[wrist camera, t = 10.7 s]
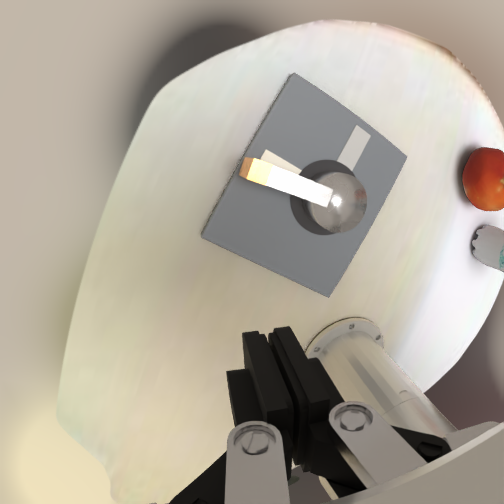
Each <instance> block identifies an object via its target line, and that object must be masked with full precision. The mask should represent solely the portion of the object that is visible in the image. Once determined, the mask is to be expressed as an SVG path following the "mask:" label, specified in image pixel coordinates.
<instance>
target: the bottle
mask: <svg viewBox="0 0 504 504" xmlns="http://www.w3.org/2000/svg"><path fill="white" fill-rule="evenodd" d="M476 234H477V235H478V238H477V239H476V240H473V241H472V244H473V246H474V247H475V248H474V249H473V254H474V256H475V257H476V258H477V259H478V260H479V261H480V262H481V263H483V264H485V265H487V266H490V267H492V268H495V269H498V270H500V271H502V272H504V231H503V230H501V229H499V228H497V227H494V226H490V225H485V226H483V227H482V229H478V230H477V232H476Z"/></svg>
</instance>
